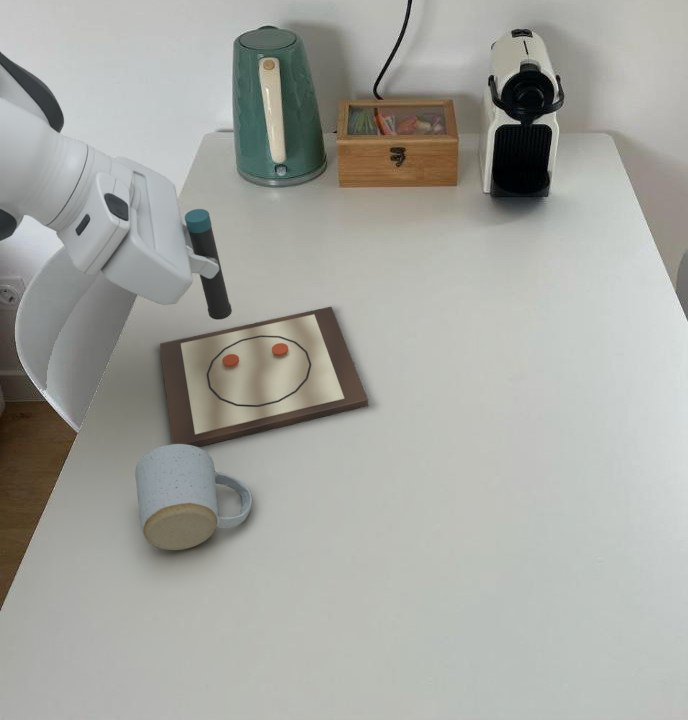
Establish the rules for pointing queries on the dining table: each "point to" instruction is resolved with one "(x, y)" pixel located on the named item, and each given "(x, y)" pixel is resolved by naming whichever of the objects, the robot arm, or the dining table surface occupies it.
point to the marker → (205, 244)
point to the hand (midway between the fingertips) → (213, 260)
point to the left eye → (230, 360)
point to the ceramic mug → (183, 496)
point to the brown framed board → (258, 378)
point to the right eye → (279, 349)
